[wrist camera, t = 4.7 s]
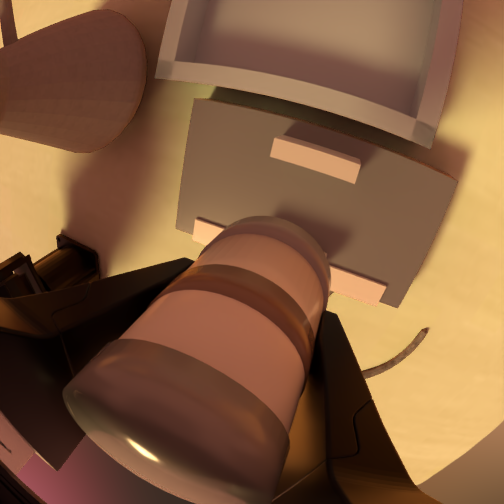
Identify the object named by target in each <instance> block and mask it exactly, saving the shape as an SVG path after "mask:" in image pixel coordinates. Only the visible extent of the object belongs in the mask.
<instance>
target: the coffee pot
mask: <svg viewBox="0 0 504 504" xmlns="http://www.w3.org/2000/svg"><path fill="white" fill-rule="evenodd" d="M0 22H1V30H2V38H3V44H4V47H3V48H1V49H0V134H2V135H7V136H11V137H15V138H20V139H24V140H28V141H32V142H36V143H40V144H44V145H48V146H52V147H56V148H60V149H64V150H67V151H71V152H75V153H91V152H93V151H96V150H99V149H101V148H104V147H105V146H107V145H108V144H109V143H110V142H111V141H113V140H114V139H115V138H116V137H118V136H119V135H120V134H121V133H122V131H123V130H124V129H125V128H126V126H127V125H128V124H129V122H130V121H131V120H132V118H133V117H134V115H135V112H136V110H137V108H138V106H139V104H140V102H141V99H142V95H143V91H144V87H145V83H146V73H147V58H146V52H145V46H144V43H143V41H142V39H141V37H140V34H139V32H138V30H137V29H136V28H135V27H134V25H133V24H132V23H131V22H130V21H129V20H128V19H127V18H126V17H125V16H123V15H122V14H119V13H117V12H114V11H112V10H93V11H90V12H86V13H83V14H80V15H77V16H74V17H71V18H69V19H66V20H63V21H60V22H58V23H55V24H53V25H50V26H48V27H45V28H43V29H40V30H38V31H36V32H33V33H31V34H29V35H27V36H25V37H23V38H20V39H18V38H17V33H16V27H15V22H14V15H13V9H12V1H11V0H0Z"/></svg>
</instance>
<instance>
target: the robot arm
mask: <svg viewBox="0 0 504 504" xmlns="http://www.w3.org/2000/svg"><path fill="white" fill-rule="evenodd" d="M56 239H57V247H58V248H57V249H56V250H54V251H52V252H51V253H49V254H48V255H46V256H44V257H43V258H41V259H40V260H38V261H36V262H35V263H32V261H31V257H30V255H27V256H24V255H23V254H22V253H21V252H19V253H17V254H15V255H14V256H12V257H10V258H9V259H7V260H5V261H4V262H2V263H0V504H47V503H46V502H45V501H43V500H42V499H41V498H40V497H39V496H37V495H36V494H35V493H34V492H33V491H32V490H31V489H30V488H29V487H28V486H26V485H25V484H24V483H23V482H22V481H21V480H20V479H19V478H18V477H17V476H16V475H17V474H18V472H19V471H20V470H21V469H22V467H23V466H24V465H25V464H26V463H27V461H28V460H29V459H30V458H31V457H32V455H33V454H34V453H36V454H37V455H38V456H39V457H41V458H42V459H43V460H44V461H45V462H46V463H47V464H49V465H50V466H51V467H52V468H53V469H55V470H56V471H58V470H59V469H60V468H61V467H62V465H63V464H64V463H65V461H66V460H67V459H68V457H69V456H70V455H71V453H72V452H73V451H74V449H75V448H76V447H77V445H78V444H79V442H80V441H81V440H82V439H83V437H84V436H85V435H86V433H85V432H84V431H83V430H82V429H81V427H80V426H79V425H78V424H77V422H76V421H75V420H74V418H73V417H72V415H71V414H70V412H69V410H68V409H67V407H66V405H65V402H64V399H63V389H64V388H65V387H66V386H67V384H68V383H69V382H70V381H71V380H72V379H73V378H74V377H75V376H76V375H77V374H78V373H79V372H80V371H81V370H82V369H83V368H84V366H85V365H86V364H87V363H88V362H89V361H90V360H91V359H92V358H93V357H94V356H95V355H96V354H97V353H98V352H99V351H100V350H101V349H102V348H103V347H104V346H105V345H106V344H107V343H109V342H111V341H113V340H118V339H119V338H120V337H121V336H122V335H123V334H124V333H125V332H126V331H127V329H128V328H129V327H130V326H131V325H132V324H133V323H134V322H135V321H136V320H137V319H138V318H139V317H140V316H141V315H142V314H143V313H144V312H145V311H146V310H147V307H148V306H149V305H150V303H151V302H152V301H153V300H154V299H155V298H156V297H157V296H158V295H159V294H160V293H161V292H162V291H163V290H164V289H165V288H166V287H167V286H168V285H169V284H170V283H171V282H172V281H173V280H174V279H175V278H176V277H177V276H179V275H180V274H181V273H183V272H185V271H186V270H187V269H188V268H189V267H190V266H191V265H192V264H193V263H194V262H195V261H193V260H190V259H188V258H180V259H176V260H173V261H169V262H165V263H161V264H157V265H153V266H149V267H146V268H142V269H138V270H134V271H130V272H126V273H123V274H119V275H115V276H111V277H107V278H104V279H100V276H99V264H98V255H97V253H96V252H95V251H93V250H91V249H89V248H87V247H85V246H83V245H81V244H79V243H77V242H75V241H73V240H71V239H69V238H67V237H66V236H64V235H62V234H59V235H57V237H56ZM12 271H14V272H15V273H14V274H13V272H12ZM289 439H290V450H289V453H288V456H287V459H286V462H285V465H284V468H283V471H282V474H281V477H280V480H279V483H278V486H277V489H276V491H275V494H274V497H273V500H272V502H271V504H443V503H441V502H439V501H437V500H436V499H434V498H432V497H430V496H429V495H427V494H425V493H424V492H422V491H421V490H420V489H419V488H418V487H417V486H416V485H415V484H414V482H413V481H412V480H411V478H410V476H409V474H408V473H407V471H406V469H405V467H404V465H403V463H402V461H401V459H400V457H399V455H398V453H397V451H396V449H395V447H394V445H393V443H392V441H391V439H390V437H389V435H388V433H387V431H386V429H385V427H384V425H383V422H382V420H381V418H380V415H379V413H378V411H377V408H376V406H375V403H374V401H373V399H372V396H371V393H370V391H369V388H368V386H367V383H366V381H365V379H364V376H363V374H362V371H361V369H360V366H359V364H358V362H357V359H356V357H355V355H354V352H353V350H352V347H351V345H350V343H349V340H348V338H347V336H346V334H345V331H344V329H343V327H342V324H341V322H340V320H339V318H338V316H337V314H335V313H332V312H329V311H327V310H325V311H323V313H322V315H321V319H320V323H319V327H318V332H317V336H316V340H315V351H314V356H313V360H312V364H311V368H310V372H309V376H308V379H307V383H306V387H305V390H304V392H303V394H302V396H301V397H300V400H299V403H298V407H297V410H296V413H295V417H294V420H293V423H292V427H291V430H290V433H289Z"/></svg>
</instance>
